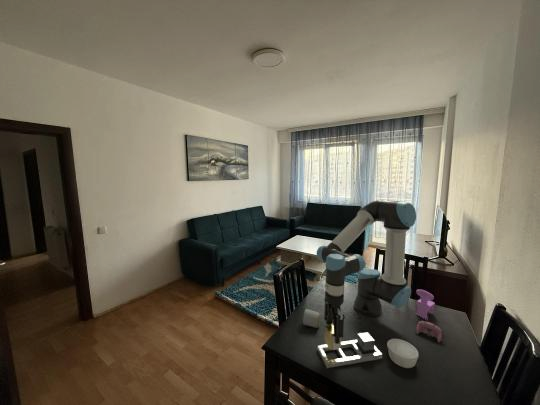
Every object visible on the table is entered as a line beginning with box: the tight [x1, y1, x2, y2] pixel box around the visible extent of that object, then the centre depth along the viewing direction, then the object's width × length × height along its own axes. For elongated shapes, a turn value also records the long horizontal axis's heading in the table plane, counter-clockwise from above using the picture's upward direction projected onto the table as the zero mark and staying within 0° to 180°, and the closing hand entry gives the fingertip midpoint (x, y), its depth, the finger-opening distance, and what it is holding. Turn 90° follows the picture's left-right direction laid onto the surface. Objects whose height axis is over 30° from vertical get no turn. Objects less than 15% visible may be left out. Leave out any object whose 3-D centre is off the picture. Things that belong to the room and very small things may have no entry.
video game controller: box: [415, 320, 443, 343], centre depth 106 cm, size 10×5×7 cm, turn 48°
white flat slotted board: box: [317, 339, 383, 369], centre depth 95 cm, size 25×10×2 cm, turn 100°
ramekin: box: [386, 338, 420, 369], centre depth 92 cm, size 11×11×5 cm
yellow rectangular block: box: [324, 325, 342, 351], centre depth 92 cm, size 5×5×7 cm
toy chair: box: [414, 289, 436, 321], centre depth 121 cm, size 8×9×15 cm
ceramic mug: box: [302, 308, 322, 328], centre depth 115 cm, size 11×8×8 cm
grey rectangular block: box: [356, 331, 376, 354], centre depth 96 cm, size 5×5×7 cm
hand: (332, 343), depth 93 cm, fingers closed on yellow rectangular block, 5 cm apart
